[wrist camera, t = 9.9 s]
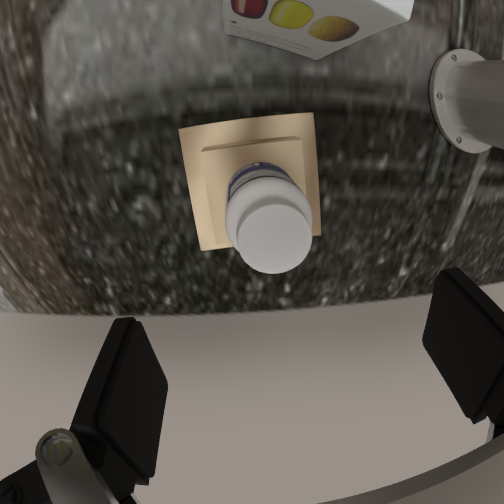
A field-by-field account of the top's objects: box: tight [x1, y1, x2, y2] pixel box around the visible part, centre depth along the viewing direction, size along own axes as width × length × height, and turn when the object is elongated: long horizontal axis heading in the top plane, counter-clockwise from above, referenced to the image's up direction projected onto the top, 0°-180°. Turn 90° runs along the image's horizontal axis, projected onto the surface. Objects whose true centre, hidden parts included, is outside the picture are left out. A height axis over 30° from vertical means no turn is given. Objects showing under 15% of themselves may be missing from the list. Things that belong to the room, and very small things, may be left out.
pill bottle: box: [225, 161, 312, 274], centre depth 21 cm, size 5×5×10 cm
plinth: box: [179, 113, 321, 251], centre depth 27 cm, size 12×12×5 cm
